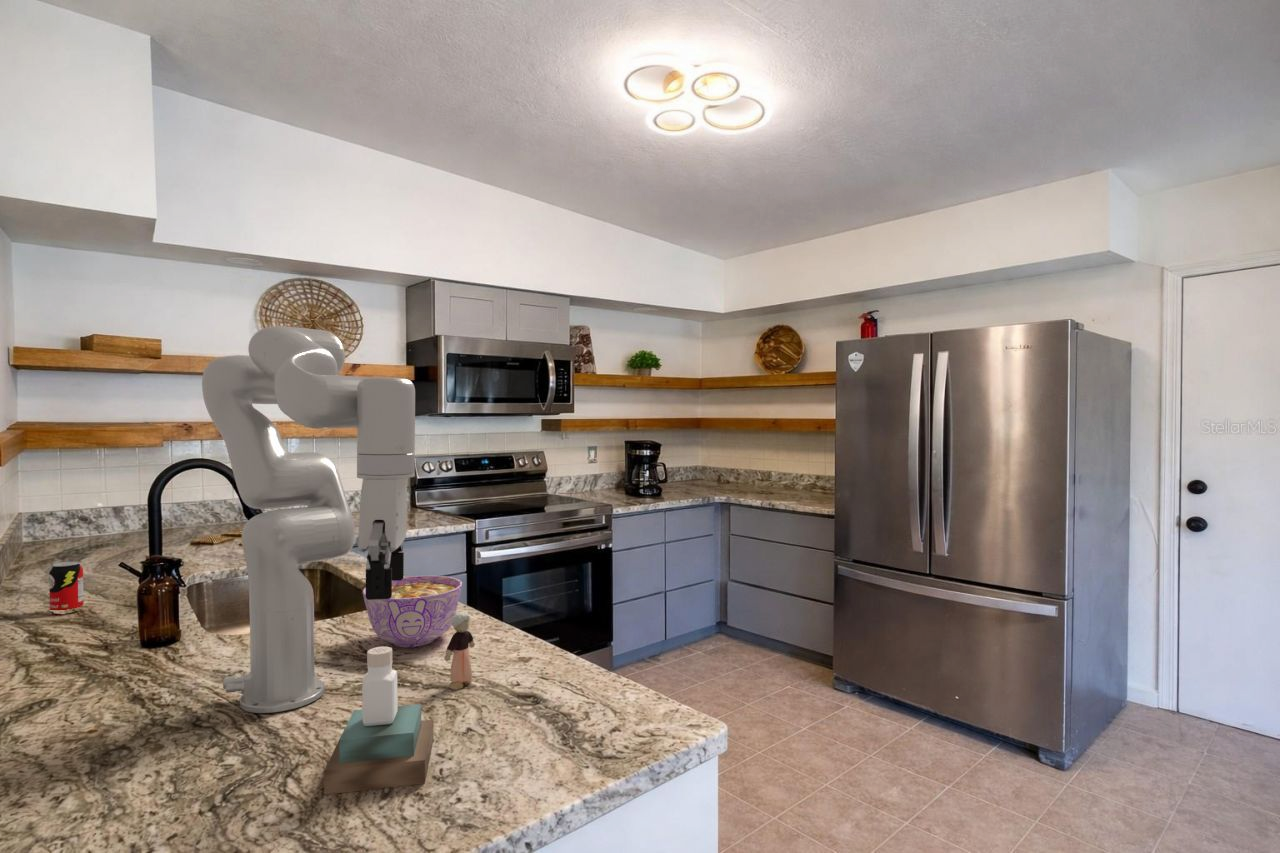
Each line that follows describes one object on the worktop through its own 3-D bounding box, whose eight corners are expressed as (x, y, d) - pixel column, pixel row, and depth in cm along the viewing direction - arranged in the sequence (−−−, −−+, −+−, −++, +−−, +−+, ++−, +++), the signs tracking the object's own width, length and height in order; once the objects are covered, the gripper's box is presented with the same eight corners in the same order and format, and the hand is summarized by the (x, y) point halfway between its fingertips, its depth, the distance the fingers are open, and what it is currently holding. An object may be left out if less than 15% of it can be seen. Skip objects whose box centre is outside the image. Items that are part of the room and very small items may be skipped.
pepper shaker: (393, 725, 90) (392, 654, 90) (361, 728, 89) (360, 656, 89) (398, 712, 94) (397, 644, 94) (367, 715, 93) (367, 646, 93)
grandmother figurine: (461, 692, 115) (461, 618, 115) (441, 691, 116) (440, 617, 116) (481, 676, 123) (480, 606, 123) (461, 674, 124) (461, 605, 124)
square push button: (324, 794, 84) (323, 746, 84) (345, 748, 96) (344, 706, 96) (425, 783, 87) (424, 736, 87) (433, 739, 98) (433, 698, 98)
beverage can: (59, 609, 168) (58, 561, 168) (89, 607, 170) (88, 560, 170) (43, 616, 162) (43, 566, 162) (74, 615, 164) (73, 565, 163)
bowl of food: (407, 664, 129) (406, 604, 129) (342, 646, 139) (341, 590, 139) (482, 635, 146) (482, 582, 146) (419, 621, 156) (419, 571, 156)
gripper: (370, 461, 102) (370, 574, 102) (341, 472, 85) (341, 608, 85) (422, 461, 103) (421, 573, 103) (404, 472, 86) (404, 606, 86)
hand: (385, 588), depth 94 cm, fingers open, 9 cm apart
